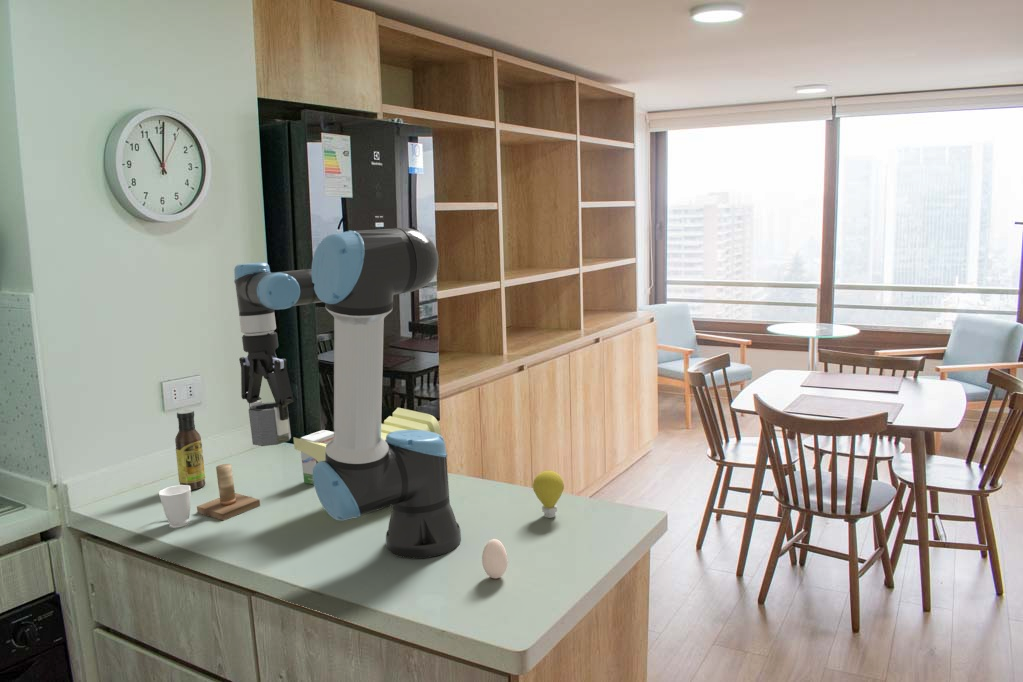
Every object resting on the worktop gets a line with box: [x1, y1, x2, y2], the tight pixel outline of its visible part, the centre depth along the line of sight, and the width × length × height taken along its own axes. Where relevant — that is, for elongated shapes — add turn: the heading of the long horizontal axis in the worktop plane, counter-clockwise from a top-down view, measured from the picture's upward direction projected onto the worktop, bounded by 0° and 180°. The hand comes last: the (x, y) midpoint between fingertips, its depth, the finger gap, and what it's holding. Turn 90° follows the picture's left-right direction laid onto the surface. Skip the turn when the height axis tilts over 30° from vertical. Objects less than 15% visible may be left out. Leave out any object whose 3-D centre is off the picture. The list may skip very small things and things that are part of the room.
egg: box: [481, 538, 509, 579], centre depth 145 cm, size 5×5×7 cm
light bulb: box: [532, 470, 565, 519], centre depth 172 cm, size 7×7×10 cm
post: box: [196, 463, 261, 521], centre depth 187 cm, size 10×10×10 cm
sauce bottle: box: [174, 409, 206, 491], centre depth 203 cm, size 6×6×20 cm
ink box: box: [300, 429, 334, 485], centre depth 204 cm, size 8×5×12 cm, turn 147°
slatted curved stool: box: [293, 407, 442, 462], centre depth 187 cm, size 30×16×18 cm, turn 136°
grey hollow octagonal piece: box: [248, 401, 292, 447], centre depth 181 cm, size 8×8×8 cm
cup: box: [158, 484, 192, 529], centre depth 180 cm, size 7×10×8 cm
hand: (271, 431), depth 181 cm, fingers closed on grey hollow octagonal piece, 8 cm apart
